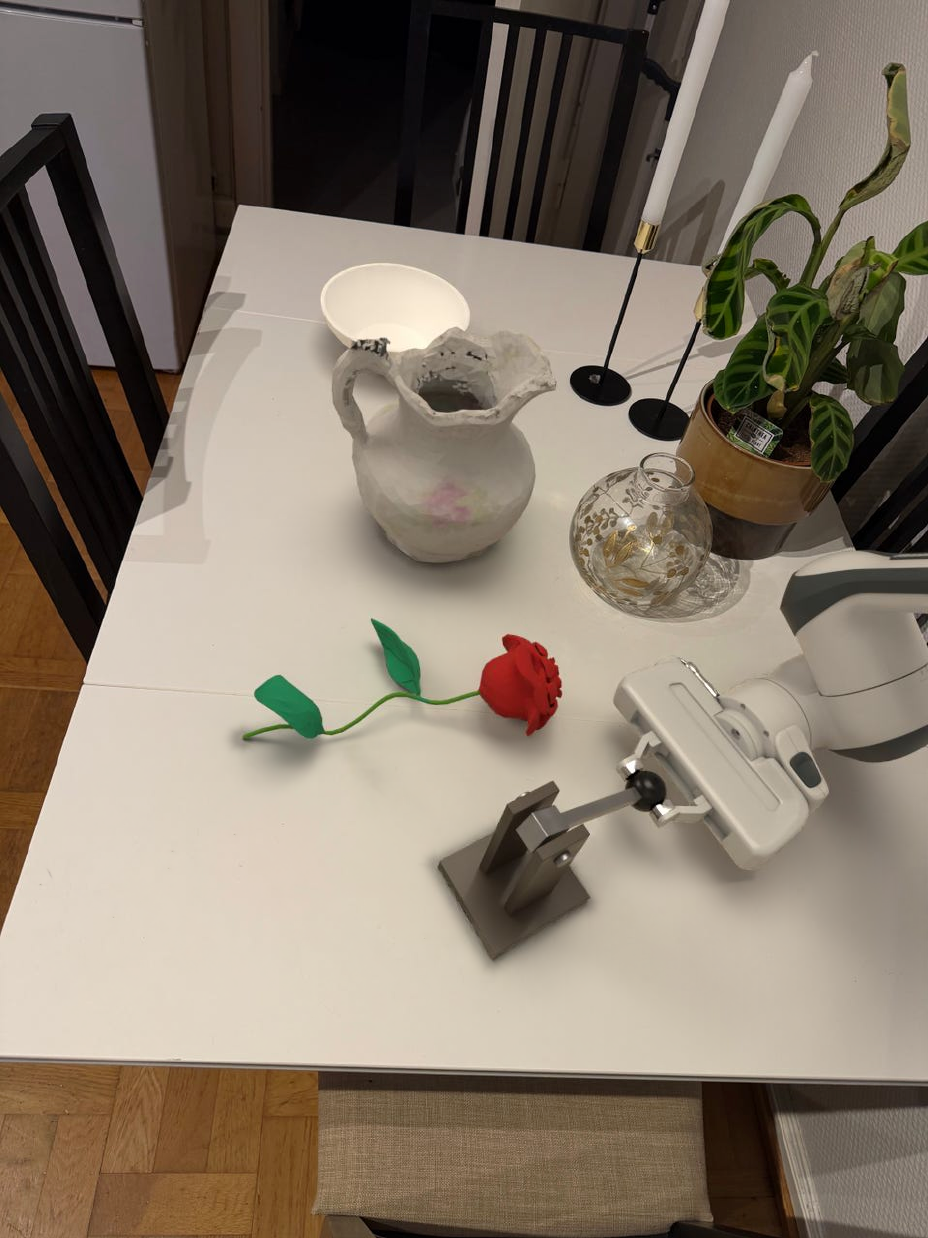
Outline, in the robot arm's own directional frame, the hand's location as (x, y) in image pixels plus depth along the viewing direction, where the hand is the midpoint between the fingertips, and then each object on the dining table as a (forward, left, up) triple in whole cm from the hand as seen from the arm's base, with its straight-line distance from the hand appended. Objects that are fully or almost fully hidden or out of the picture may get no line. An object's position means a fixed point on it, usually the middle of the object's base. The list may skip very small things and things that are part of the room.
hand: (638, 795), depth 76 cm
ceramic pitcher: (+40, -2, -6) cm, 41 cm away
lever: (0, +6, +1) cm, 6 cm away
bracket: (0, +12, -6) cm, 13 cm away
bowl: (+70, -14, -6) cm, 72 cm away
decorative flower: (+21, +12, -6) cm, 25 cm away
